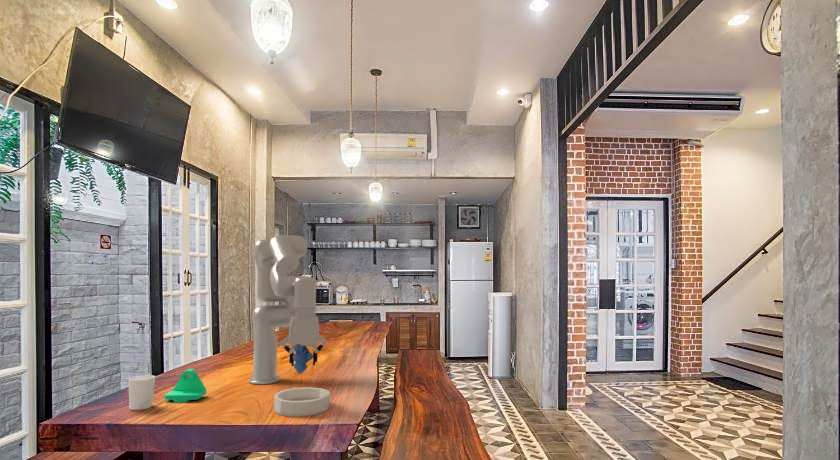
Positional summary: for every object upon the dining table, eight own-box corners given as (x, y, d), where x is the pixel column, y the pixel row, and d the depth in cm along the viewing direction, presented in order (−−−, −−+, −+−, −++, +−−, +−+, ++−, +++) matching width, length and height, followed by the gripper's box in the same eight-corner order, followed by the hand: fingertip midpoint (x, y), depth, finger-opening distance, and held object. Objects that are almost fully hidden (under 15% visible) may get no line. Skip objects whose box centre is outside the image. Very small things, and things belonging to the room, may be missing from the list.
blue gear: (307, 378, 159) (309, 341, 160) (287, 377, 159) (289, 341, 160) (317, 370, 171) (318, 336, 171) (298, 369, 171) (300, 335, 172)
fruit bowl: (276, 402, 171) (276, 388, 172) (328, 399, 175) (328, 386, 176) (272, 418, 153) (272, 403, 154) (330, 414, 157) (330, 400, 158)
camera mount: (163, 402, 170) (164, 373, 171) (173, 396, 178) (174, 368, 178) (197, 402, 170) (198, 373, 171) (206, 396, 178) (207, 368, 179)
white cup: (134, 412, 158) (136, 381, 159) (122, 408, 163) (124, 378, 163) (158, 406, 165) (159, 376, 166) (146, 402, 169) (147, 374, 170)
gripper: (278, 314, 161) (276, 368, 160) (330, 313, 165) (329, 366, 164) (279, 312, 168) (277, 363, 167) (329, 311, 172) (328, 361, 171)
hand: (303, 364), depth 165 cm, fingers closed on blue gear, 6 cm apart
